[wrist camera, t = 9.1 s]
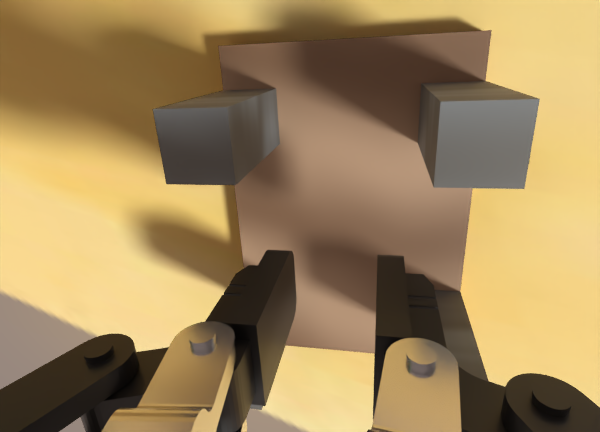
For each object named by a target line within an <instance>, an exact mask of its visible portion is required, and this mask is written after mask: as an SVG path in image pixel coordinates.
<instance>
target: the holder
mask: <svg viewBox="0 0 600 432" xmlns="http://www.w3.org/2000/svg"><path fill="white" fill-rule="evenodd" d="M490 38H491V30H488V31H470V32H453V33H436V34H418V35H401V36H383V37H366V38H349V39H331V40H314V41H297V42H279V43H262V44H244V45H227V46H218V48H219V56H220V65H221V74H222V82H223V91H219V92H215V93H211V94H208V95H204V96H200V97H196V98H193V99H189V100H185V101H182V102H178V103H174V104H170V105H167V106H163V107H159V108H156V109H153V113H154V119H155V124H156V130H157V135H158V141H159V146H160V152H161V157H162V162H163V168H164V173H165V179H166V184H195V185H234V186H235V195H236V203H237V212H238V221H239V229H240V238H241V246H242V255H243V264H244V268H245V267H247V266H248V265H258V264H259V262H260V261H261V259H262V257H263V256H264V254H265V252H266V251H267V250H288V251H292V252H293V254H294V265H295V281H296V312H295V317H294V320H293V323H292V326H291V329H290V332H289V335H288V338H287V341H286V345H288V346H299V347H310V348H321V349H332V350H343V351H354V352H365V353H375V328H376V291H377V255H400V256H404V263H405V273H409V274H423V275H424V276H425V277H426V278H427V279H428V280H429V281H430V282H431V283H432V284H433V285H434V290H435V295H436V299H437V304H438V310H439V313H440V318H441V323H442V328H443V332H444V337H445V342H446V346H447V349H448V350H449V351H450V352H451V353H452V354H453V355H454V357H455V358H456V360H457V363H458V366H459V367H461V368H462V369H463V370H465V371H466V372H468V373H469V374H471V375H473V376H475V377H478V378H480V379H483V380H486V381H488V378H487V375H486V372H485V369H484V366H483V362H482V359H481V356H480V353H479V350H478V347H477V343H476V340H475V337H474V334H473V331H472V328H471V324H470V321H469V318H468V315H467V312H466V308H465V305H464V302H463V299H462V296H461V293H460V288H461V280H462V272H463V263H464V255H465V247H466V238H467V230H468V222H469V213H470V205H471V196H472V188H506V189H524V187H525V181H526V175H527V170H528V164H529V158H530V152H531V146H532V140H533V134H534V129H535V123H536V117H537V111H538V105H539V99H538V98H535V97H532V96H529V95H526V94H523V93H520V92H517V91H514V90H511V89H508V88H505V87H502V86H499V85H496V84H493V83H490V82H487V81H485V79H486V71H487V63H488V54H489V46H490ZM262 407H263V406H261V405H252V404H251V406H250V408H251V409H259V410H262Z"/></svg>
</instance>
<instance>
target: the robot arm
mask: <svg viewBox="0 0 600 432" xmlns="http://www.w3.org/2000/svg"><path fill="white" fill-rule="evenodd" d="M295 312H296V281H295V265H294V254H293V252H292V251H288V250H267V251H266V252H265V254H264V256H263V257H262V259H261V261H260V262H259V264H258V265H248V266H247V267H245V268H244V269H242V270H241V271H240V272H238V273H237V274H236V275H235V277H234V278H233V280H232V281H231V283H230V286H228V287H227V289H226V290H225V292H224V295H222V297H221V298H220V300H219V301H218V303H217V304H216V306H215V307H214V309H213V310H212V312H211V314H210V315H209V317H208V318H207V320H206V321H205V322H201V323H197V324H194V325H191V326H189V327H187V328H185V329H184V330H182V331H181V332H180V333H178V334H177V335H176V336H175V338H174V339H173V341H172V343H171V344H170V346H169V347H168V348H162V349H155V350H148V351H141V352H136V350H135V346H134V342H133V340H132V339H131V338H130V337H128V336H126V335H123V334H107V335H102V336H99V337H95V338H93V339H91V340H88V341H87V342H84V343H83V344H81V345H79V346H77V347H75V348H74V349H72V350H70V351H68V352H66V353H65V354H63V355H61V356H59V357H58V358H56V359H54V360H52V361H50V362H49V363H47V364H45V365H43V366H42V367H40V368H38V369H36V370H34V371H33V372H31V373H29V374H27V375H26V376H24V377H22V378H20V379H18V380H17V381H15V382H13V383H11V384H9V385H8V386H6V387H4V388H3V389H1V390H0V432H59V431H60V430H62V429H63V428H65V427H66V426H68V425H69V424H71V423H72V422H73V421H75V420H76V419H78V418H79V417H81V419H82V422H83V425H84V428H85V431H86V432H247V422H246V417H247V414H248V411H249V409H250V406H251V404H252V405H261V406H265V405H266V402H267V399H268V396H269V393H270V390H271V387H272V384H273V381H274V378H275V375H276V372H277V369H278V366H279V363H280V360H281V357H282V354H283V351H284V348H285V345H286V341H287V338H288V335H289V332H290V329H291V326H292V323H293V320H294V317H295ZM367 432H600V407H598V406H597V405H596V404H595V403H594V402H592V401H591V400H590V399H589V398H588V397H586V396H585V395H584V394H583V393H581V392H580V391H579V390H577V389H576V388H574V387H573V386H571V385H570V384H568V383H566V382H564V381H562V380H559V379H556V378H554V377H550V376H547V375H542V374H534V373H529V374H521V375H518V376H515V377H513V378H512V379H510V381H509V382H508V383H507V385H506V387H504V386H501V385H498V384H495V383H492V382H489V381H486V380H483V379H480V378H478V377H475V376H473V375H471V374H469V373H468V372H466V371H465V370H463V369H462V368H461V367H459V366H458V363H457V360H456V358H455V357H454V355H453V354H452V353H451V352H450V351H449V350H448V349H447V346H446V342H445V337H444V332H443V328H442V323H441V318H440V313H439V310H438V304H437V299H436V295H435V290H434V285H433V284H432V283H431V282H430V281H429V280H428V279H427V278H426V277H425V276H424V275H423V274H409V273H405V263H404V256H400V255H377V291H376V328H375V366H374V403H373V425H372V429H371V430H368V431H367Z"/></svg>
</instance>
